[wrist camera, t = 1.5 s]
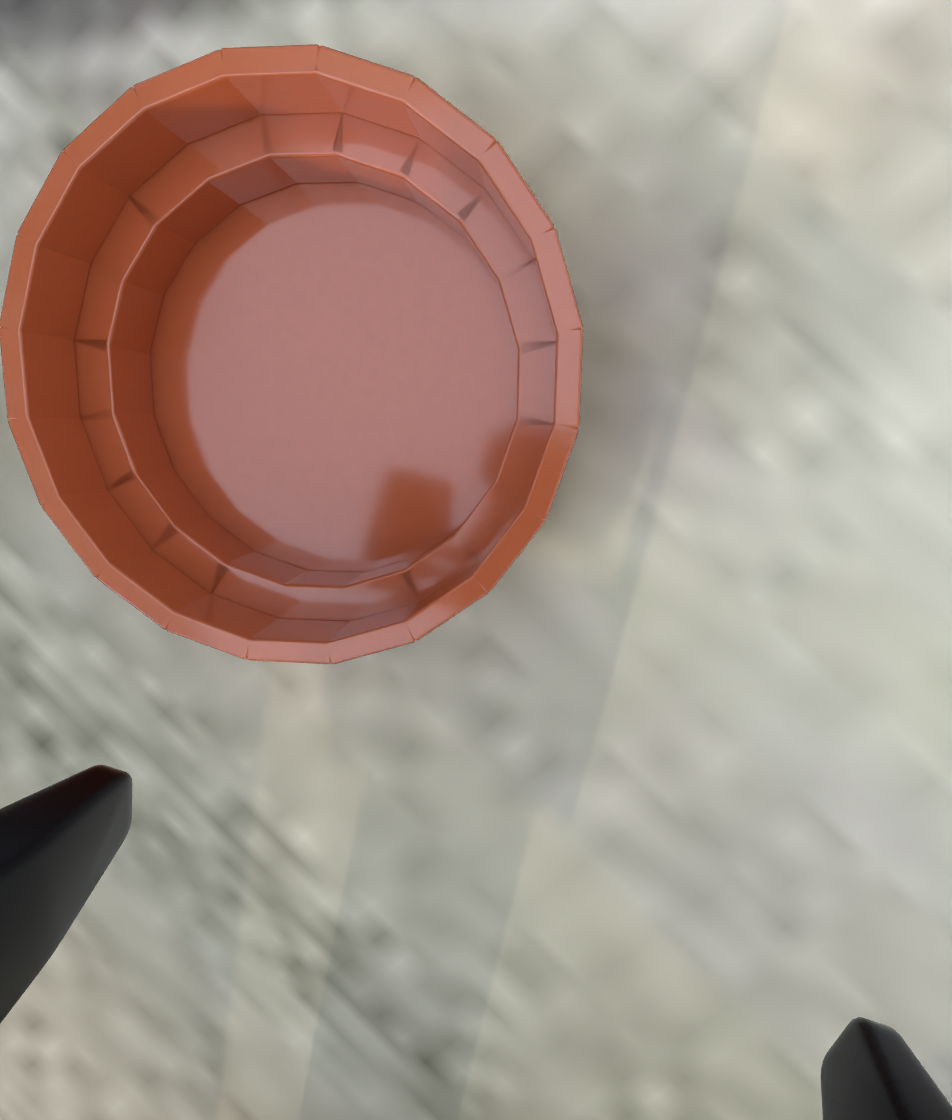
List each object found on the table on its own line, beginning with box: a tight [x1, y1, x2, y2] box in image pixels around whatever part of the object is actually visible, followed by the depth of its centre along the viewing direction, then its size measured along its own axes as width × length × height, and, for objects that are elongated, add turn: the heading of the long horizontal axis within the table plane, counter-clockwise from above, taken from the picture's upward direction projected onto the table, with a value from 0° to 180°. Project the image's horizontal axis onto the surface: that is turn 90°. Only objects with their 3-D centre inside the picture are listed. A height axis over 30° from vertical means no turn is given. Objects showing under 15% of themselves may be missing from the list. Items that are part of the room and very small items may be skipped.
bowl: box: [0, 44, 583, 664], centre depth 20 cm, size 14×14×5 cm
